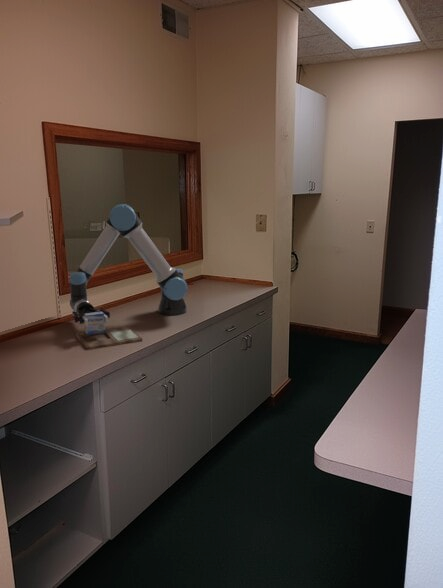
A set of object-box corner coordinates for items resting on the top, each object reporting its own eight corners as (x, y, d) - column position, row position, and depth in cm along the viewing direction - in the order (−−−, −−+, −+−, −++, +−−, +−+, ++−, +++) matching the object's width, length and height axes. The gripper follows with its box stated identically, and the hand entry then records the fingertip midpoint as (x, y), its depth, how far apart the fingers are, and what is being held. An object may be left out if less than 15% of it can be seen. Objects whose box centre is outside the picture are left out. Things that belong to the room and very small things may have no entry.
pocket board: (127, 328, 221) (127, 326, 221) (142, 340, 204) (142, 338, 204) (75, 335, 209) (75, 333, 209) (86, 349, 193) (86, 347, 192)
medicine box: (87, 334, 202) (85, 315, 200) (85, 332, 205) (83, 313, 203) (105, 332, 205) (104, 313, 203) (102, 329, 209) (101, 310, 207)
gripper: (106, 314, 225) (121, 326, 206) (62, 320, 215) (73, 333, 196) (105, 298, 223) (120, 310, 204) (60, 304, 213) (71, 316, 194)
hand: (97, 321), depth 200 cm, fingers closed on medicine box, 8 cm apart
